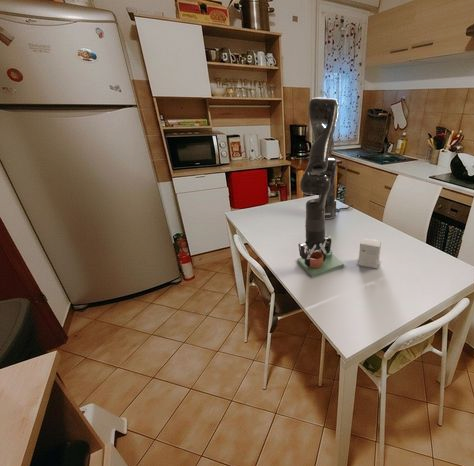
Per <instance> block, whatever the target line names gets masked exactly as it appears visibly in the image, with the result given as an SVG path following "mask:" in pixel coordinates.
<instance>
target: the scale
mask: <svg viewBox="0 0 474 466" xmlns="http://www.w3.org/2000/svg"><path fill="white" fill-rule="evenodd" d="M317 251H319V252H322V251H321V250H317ZM297 262H298V263H299V265H300V266H301V267H302V269H304V270H305V271H306V273H307V274H309V276H310V277H311V278H314V277H319V276H320V275H323V274H326V273H329V272H332V271H335V270H338V269H341V268H343V267H345V266H344V265H345V264H344V262H342V261H341V260H340V259H339V258H338V257H336V256H335V254H333V250H332V249H330V251H329V253H327V254H326V259H325V261H324V262H323V265H322V266H321V267H320V268H311V267H309V266H307V265H306V264H305V259H302V257H298V258H297Z"/></svg>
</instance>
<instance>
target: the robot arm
mask: <svg viewBox="0 0 474 466" xmlns="http://www.w3.org/2000/svg"><path fill="white" fill-rule="evenodd" d="M338 115H339V102H338V100H337V99H335V98H333V97H332V98H331V97H313V98H311V99H310V101H309V103H308V116H309V121H310V126H311V131H312V139H313V143H312V144H311V147H310V150H309V156H308V163H307V165H306V168H305V171H304V172H303V175H302V177H301V179H300V181H299V182H300V183H299V188H300V191H301V193H302V194H303V195H309V196H318V197H317V198H313V199H312V198H311V199H309V200H307V201H306V202H305V222H304V223H305V224H304V226H305V241H304V242H303V243H298V244H297V245H298V252H299V257H300V258H302V259H305V264H306V265H307V266H310V259H309V258H310V256H311V255H312V253H313V251H318V250H321V251H322V252H321V253H322V254H323V262H324V261H325V259H326V253H327V252H329V251H330V249H331V248H332V240H333V239H332V238H331V237H330V236H329V235H328V236H326V220H332V219H334V218H336V217H337V213H339V212H340V211H341V210H348V209H350V208H351V207H354V205H353V204H350V205H349V206H348V207H340V208H337V200H336V179H337V165H338V162H337V159H335V158H329V157H330V156H331V155H332V154H333V152H334V149H335V139H334V134H335V129H336V125H337V121H338ZM324 247H325V248H324ZM331 250H332V249H331Z"/></svg>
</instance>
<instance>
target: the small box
mask: <svg viewBox="0 0 474 466" xmlns="http://www.w3.org/2000/svg"><path fill="white" fill-rule="evenodd" d="M381 249H382V240H380V239H374V238H367V237H362V238H361V241H360V243H359V253H358V266H361V267H367V268H372V269H378V267H379V263H380V257H381V256H380V255H381Z"/></svg>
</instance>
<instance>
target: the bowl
mask: <svg viewBox="0 0 474 466" xmlns="http://www.w3.org/2000/svg"><path fill="white" fill-rule="evenodd" d="M309 259H310V266H309V267H311V268H320V267H321V266H322V265H323V254H322V253H321V252H319V251H318V250H316V251H313V253H312V255H311V256H310V258H309Z"/></svg>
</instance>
